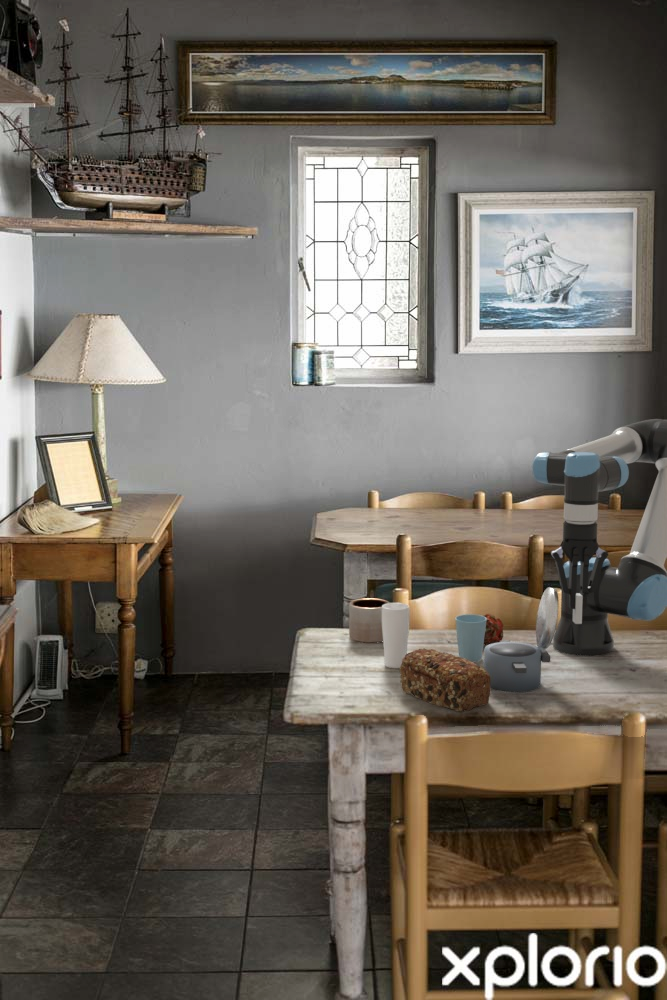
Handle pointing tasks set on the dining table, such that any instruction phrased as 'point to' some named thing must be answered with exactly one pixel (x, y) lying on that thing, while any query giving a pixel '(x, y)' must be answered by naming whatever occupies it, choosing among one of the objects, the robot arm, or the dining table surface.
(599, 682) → the dining table surface
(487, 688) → the bread
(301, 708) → the dining table surface
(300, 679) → the dining table surface
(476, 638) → the cup
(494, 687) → the pot
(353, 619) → the planter
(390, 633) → the drinking glass
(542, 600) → the lid
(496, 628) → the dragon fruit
